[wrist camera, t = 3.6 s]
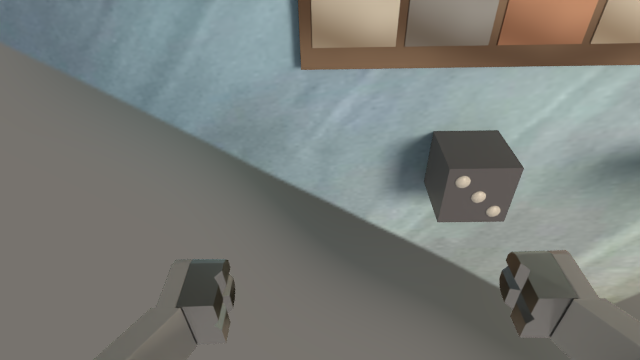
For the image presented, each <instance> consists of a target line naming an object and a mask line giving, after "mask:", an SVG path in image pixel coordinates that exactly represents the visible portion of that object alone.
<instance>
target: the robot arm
mask: <svg viewBox="0 0 640 360" xmlns="http://www.w3.org/2000/svg"><path fill="white" fill-rule="evenodd" d="M506 262H507V264H508V266H507V267H506V268H505V269H503V270H502V272H501V275H500V278H499V281H500V291H501V295H502V298H503V300H504V302H505V303H506V304H507V305H508V306H510V307H511V308H512V309H513V310H512V313H511V315H510V317H511V319H512V321H513V324H514V326H515V328H516V331H517V333H518V335H519V337H535V338H538V337H539V338H550V340H551V341H552V342H553V343H555V344H556V345H557V346H558V347H559V348H560V349H561V350H562V351H563V352H564V353H565V354H566V355H567V356H568V357H569V358H570V359H571V360H640V322H639V321H638V320H637V319H635V318H634V317H632V316H631V315H629V314H628V313H626V312H625V311H623V310H622V309H620V308H619V307H617V306H616V305H614V304H613V303H611V302H610V301H608V300H607V299H605V298H599V297H598V295H597V294H596V292H595V291H594V289H593V288H592V286H591V285H590V283H589V282H588V280H587V279H586V277H585V275H584V274H583V272H582V271H581V269H580V268H579V266H578V265H577V263H576V262H575V260H574V259H573V257H572V256H571V254H570V253H569V252H568V251H566V250H557V251H519V252H511V253H509V254H508V256H507V259H506ZM229 272H230V264H229V261H228V260H226V259H222V260H221V259H205V260H204V259H201V260H200V259H193V260H175V261H174V263H173V264H172V266H171V268H170V271H169V274H168V276H167V279H166V282H165V284H164V287H163V290H162V292H161V295H160V298H159V301H158V303H157V306H156V308H150V309H149V310H148V311H147V312H146V313H145V314H144V315H143V316H141V317H140V318H139V319H138V320H137V321H136V322H135V323H134V324H132V325H131V326H130V327H129V328H128V329H127V330H126V331H125V332H124V333H122V334H121V335H120V336H119V337H118V338H117V339H116V340H115V341H114V342H112V343H111V344H110V345H109V346H108V347H107V348H106V349H105V350H103V352H101V353H100V354H99V355H98V356H97V357H96V358H94V359H93V360H186V359H187V358H188V357H189V356H190V355H191V353H192V352H193V351H194V349H195V348H196V347H197V344H217V343H226V341H227V337H228V332H229V327H230V319H229V315H228V313H229V312H230V311H231V310H232V309H233V307H234V301H235V282H234V278H233V277H232V276H231V275H230V274H229Z"/></svg>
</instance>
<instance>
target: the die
mask: <svg viewBox="0 0 640 360" xmlns="http://www.w3.org/2000/svg"><path fill="white" fill-rule="evenodd" d="M523 169H524V168H523V166H522V165H521V163H520V162H519V160H518V159H517V157H516V156H515V154H514V153H513V151H512V150H511V149H510V147H509V146H508V144H507V143H506V141H505V140H504V138H503V137H502V135H501V134H500V132H499V131H498V130H494V131H433V137H432V142H431V147H430V153H429V158H428V163H427V169H426V174H425V180H424V183H425V186H426V189H427V192H428V195H429V198H430V201H431V204H432V207H433V210H434V213H435V216H436V219H437V222H496V221H504V220H505V217H506V215H507V212H508V209H509V207H510V204H511V201H512V198H513V196H514V193H515V190H516V188H517V185H518V182H519V180H520V177H521V174H522V172H523Z"/></svg>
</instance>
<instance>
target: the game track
mask: <svg viewBox="0 0 640 360" xmlns="http://www.w3.org/2000/svg"><path fill="white" fill-rule="evenodd" d="M298 11H299V32H300V54H301V70H315V69H383V68H451V67H518V66H586V65H640V0H298Z"/></svg>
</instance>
